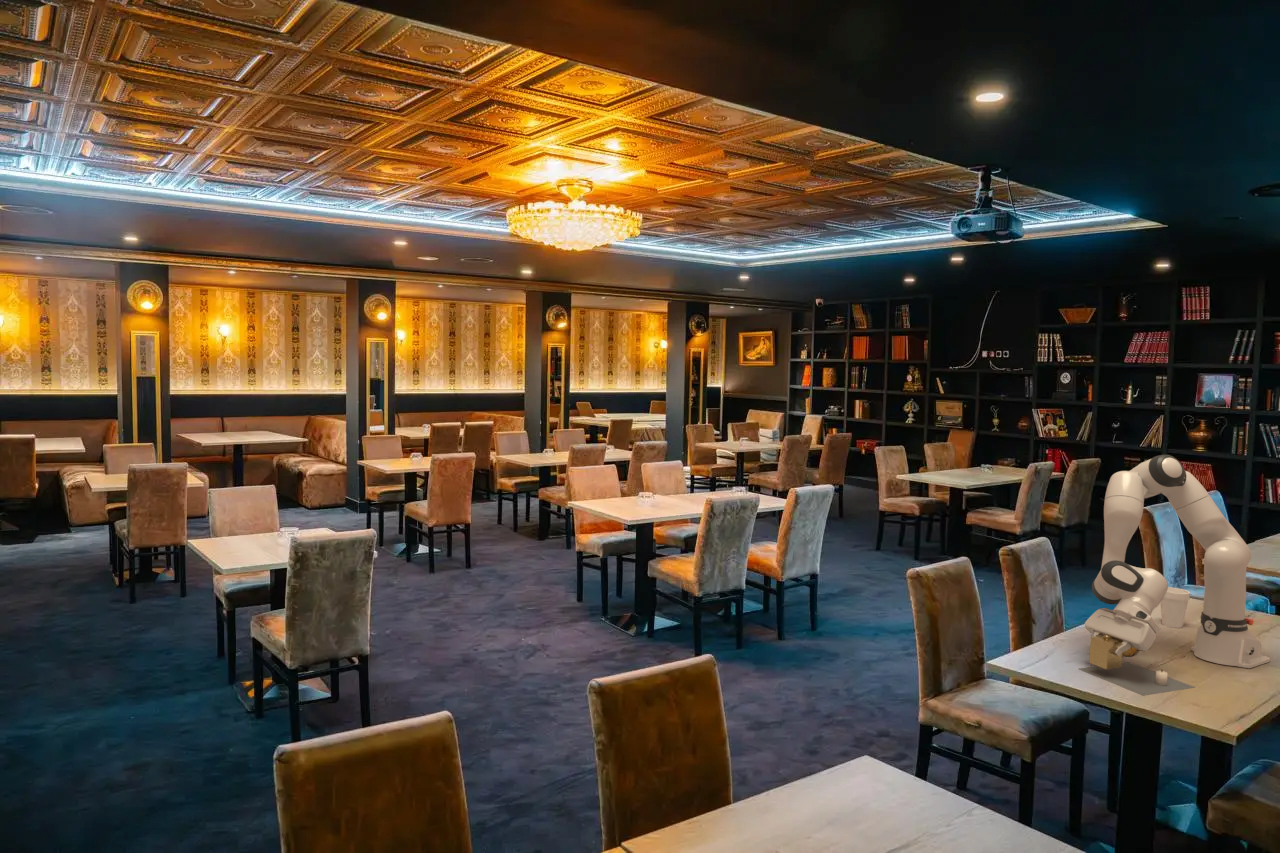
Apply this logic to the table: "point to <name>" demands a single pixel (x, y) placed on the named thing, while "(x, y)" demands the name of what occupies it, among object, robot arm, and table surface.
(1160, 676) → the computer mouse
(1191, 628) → the table surface
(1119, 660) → the brass knob block
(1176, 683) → the charcoal mat
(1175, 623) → the foam cup
